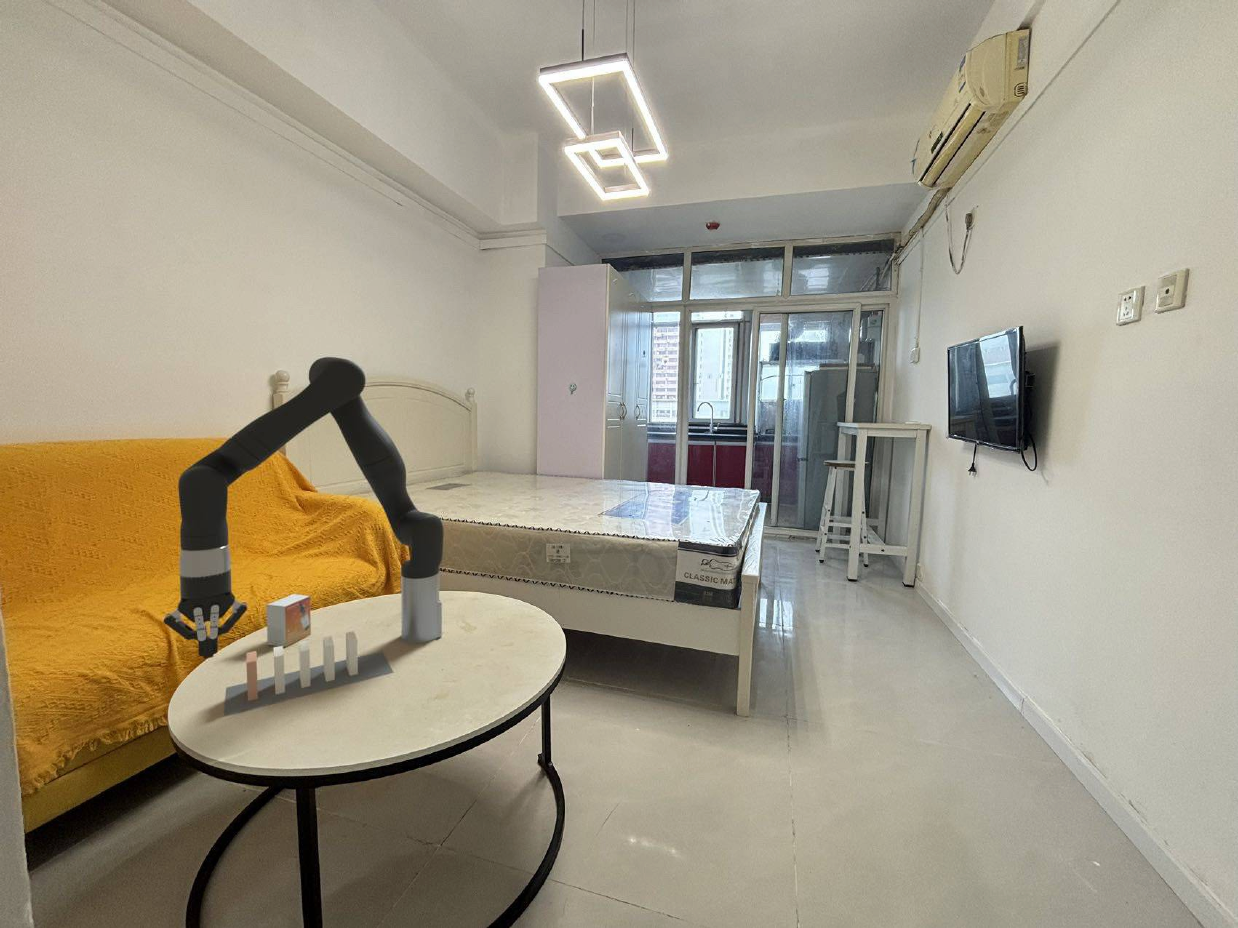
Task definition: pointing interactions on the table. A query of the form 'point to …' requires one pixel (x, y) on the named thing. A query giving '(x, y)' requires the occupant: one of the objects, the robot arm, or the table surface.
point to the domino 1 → (252, 676)
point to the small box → (288, 620)
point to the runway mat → (367, 669)
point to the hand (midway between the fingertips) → (208, 656)
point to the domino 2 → (279, 670)
